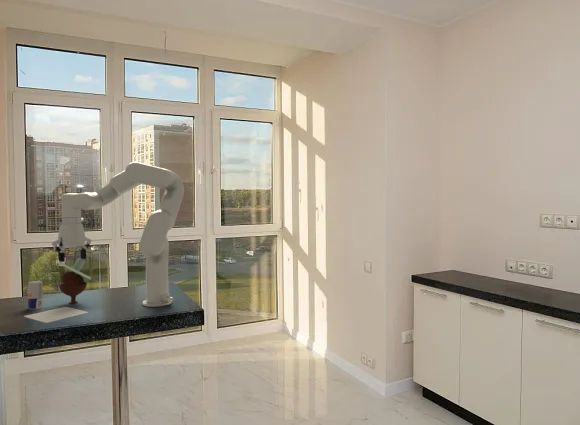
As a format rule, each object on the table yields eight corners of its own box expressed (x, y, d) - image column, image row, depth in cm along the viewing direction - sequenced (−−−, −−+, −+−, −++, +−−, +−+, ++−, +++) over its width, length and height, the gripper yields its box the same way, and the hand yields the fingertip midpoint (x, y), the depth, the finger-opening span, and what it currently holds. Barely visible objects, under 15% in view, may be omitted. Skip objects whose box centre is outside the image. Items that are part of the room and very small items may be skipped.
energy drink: (26, 309, 177) (26, 281, 177) (41, 307, 181) (40, 280, 181) (30, 312, 173) (29, 283, 173) (44, 309, 177) (43, 281, 177)
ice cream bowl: (76, 308, 179) (75, 273, 178) (53, 307, 181) (52, 273, 180) (92, 302, 189) (91, 269, 189) (71, 301, 191) (70, 269, 191)
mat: (89, 314, 170) (89, 312, 169) (46, 325, 155) (46, 322, 155) (65, 308, 179) (65, 306, 178) (23, 318, 164) (22, 316, 164)
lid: (96, 282, 187) (104, 270, 189) (69, 269, 175) (77, 256, 177) (78, 273, 195) (85, 262, 197) (51, 260, 183) (59, 248, 185)
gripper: (85, 220, 193) (86, 257, 194) (47, 222, 178) (48, 262, 179) (95, 220, 189) (96, 258, 190) (56, 222, 175) (57, 263, 175)
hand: (72, 260), depth 184 cm, fingers open, 9 cm apart
